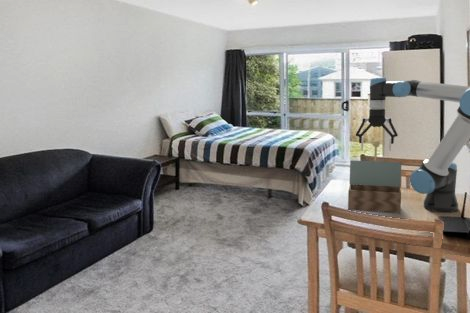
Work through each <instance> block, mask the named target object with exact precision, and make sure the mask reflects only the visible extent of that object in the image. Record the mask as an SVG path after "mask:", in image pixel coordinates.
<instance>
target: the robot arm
mask: <svg viewBox="0 0 470 313" xmlns="http://www.w3.org/2000/svg"><path fill="white" fill-rule="evenodd" d="M369 84H370V85H369V109H368V110H369V111H368V112H369V113H368V114H369V117H368V118H366V117H363V118H362V122H361V124H360V126H359V128H358V130H357V131H356V133H355V136H356V137H359V140H358V143H359V144H361V146H360V147H361V151H363V150H364V135H365V133H367V132H368V131H369V129H370V128H371V127H373V128H376V127H377V128H380V127H382V128H383V129H384V131H386V133H387V134H388V136H390V137H389V141H388V142H389V143H388V145H389V148H388V151H389V152H390V151H392V144H394V142H395V140H394V138H396V137H398V136H399V135H398V133H397V131H396V128H395V127H394V125H393V123H392V118H391V117H389V118H388V117H386V109H385V108H386V98H388V97H389V98H390V97H391V98H405V97H416V98H425V99H433V100H440V101H445V102H446V101H447V102H454V103H459V106H458V108H457V109H456V113H457V116H456V118H455V119H454V121H453V122H452V124H451V125H450V127H449V128H448V130H447V131H446V133H445V134H444V136H443V138H442V139H441V141H440V142H439V144H438V146H437V147H436V149H435V150H434V151H433V152H432V155H431V156H430V157H429V158H426V159H424V160H423V162H422V163H421V165H420V166H419V167H418V168H417V169H415V170H413V171H412V172H411V174H410V176H409V182H410V186H411V187H412V189H413V190H414V191H416V192H417V193H418V194H422V195H425V198H424V200H423V207H424V208H425V209H427V210H428V211H429V210H430V211H433V212H438V211H439V213H452V212H451V211H454V212H457V211H458V210H459V203H458V202H459V201H458V200H457V196H456V187H457V184H456V183H457V172H458V166H457V164H456V163H454V160H456V158H457V156H458V155H459V154H460V152H461V151H462V149H463V147H464V146H465V144H466V143H467V142H468V141H469V139H470V86H469V85H468V86H467V85H459V84H448V83H439V82H431V81H421V80H418V79H417V80H415V79H411V80H398V81H397V80H394V81H393V80H392V81H389V80H388V81H387V77H372V78H371V79H370V81H369ZM367 122H368V123H369V124H368V125H367V126H366V127H365V129H363V128H364V126H365V123H367ZM385 122H387V123H389V126H390V128H391V130H392V132H393V133H392V132H391V131H390V129H389V128H388V127H387V126H386V124H384V123H385ZM362 129H363V131H362V132H361V130H362ZM456 210H457V211H456Z"/></svg>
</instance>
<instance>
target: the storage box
mask: <svg viewBox="0 0 470 313" xmlns="http://www.w3.org/2000/svg"><path fill="white" fill-rule="evenodd" d="M347 196H348V199H347V201H348V202H347V211H359V212H372V213H373V212H374V213H375V212H376V213H386V214H387V213H388V214H401V206H402V204H401V203H402V190H401V187H395V186H376V185H357V184H349V187H348V193H347Z"/></svg>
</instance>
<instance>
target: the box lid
mask: <svg viewBox="0 0 470 313" xmlns="http://www.w3.org/2000/svg"><path fill="white" fill-rule="evenodd" d="M371 143H372V146H373V148H374V159H373V160H350V161H349V185H350V184H357V185H376V186H395V187H400V188H401V183H402V162H401V161H382V160H381V161H378V160H377V159H378V158H377V156H378V154H377V153H378V151H377V150H378V147H379V146H380V140H377V139H374V140H373V141H372V142H371Z"/></svg>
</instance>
